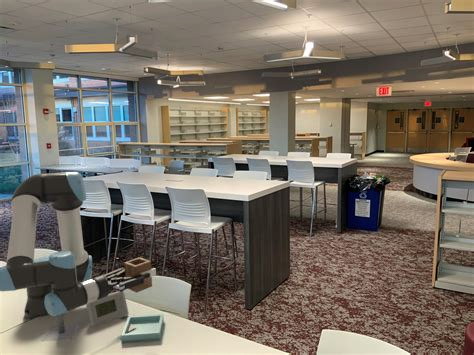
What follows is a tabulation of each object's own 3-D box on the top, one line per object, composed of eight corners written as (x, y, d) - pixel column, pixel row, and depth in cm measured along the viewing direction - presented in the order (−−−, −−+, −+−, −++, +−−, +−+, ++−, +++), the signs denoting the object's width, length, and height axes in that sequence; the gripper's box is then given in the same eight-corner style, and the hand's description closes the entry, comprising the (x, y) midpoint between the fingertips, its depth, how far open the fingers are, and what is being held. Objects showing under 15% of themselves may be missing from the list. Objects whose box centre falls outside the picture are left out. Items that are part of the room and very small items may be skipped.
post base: (53, 329, 151) (50, 304, 149) (81, 327, 152) (79, 302, 150) (41, 344, 140) (38, 318, 138) (72, 342, 141) (69, 316, 139)
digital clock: (89, 331, 149) (87, 305, 147) (86, 321, 156) (83, 296, 155) (131, 319, 157) (129, 295, 155) (125, 310, 165) (124, 287, 163)
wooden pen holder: (125, 287, 144) (124, 262, 142) (141, 281, 149) (139, 257, 148) (136, 292, 139) (135, 266, 138) (152, 286, 145) (150, 261, 143)
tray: (128, 323, 154) (128, 316, 153) (163, 321, 155) (163, 314, 155) (121, 343, 140) (120, 335, 140) (159, 340, 141) (159, 332, 141)
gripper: (80, 292, 137) (134, 272, 154) (110, 308, 124) (166, 284, 141) (79, 272, 136) (133, 254, 153) (109, 286, 123) (165, 265, 140)
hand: (149, 269), depth 147 cm, fingers closed on wooden pen holder, 7 cm apart
